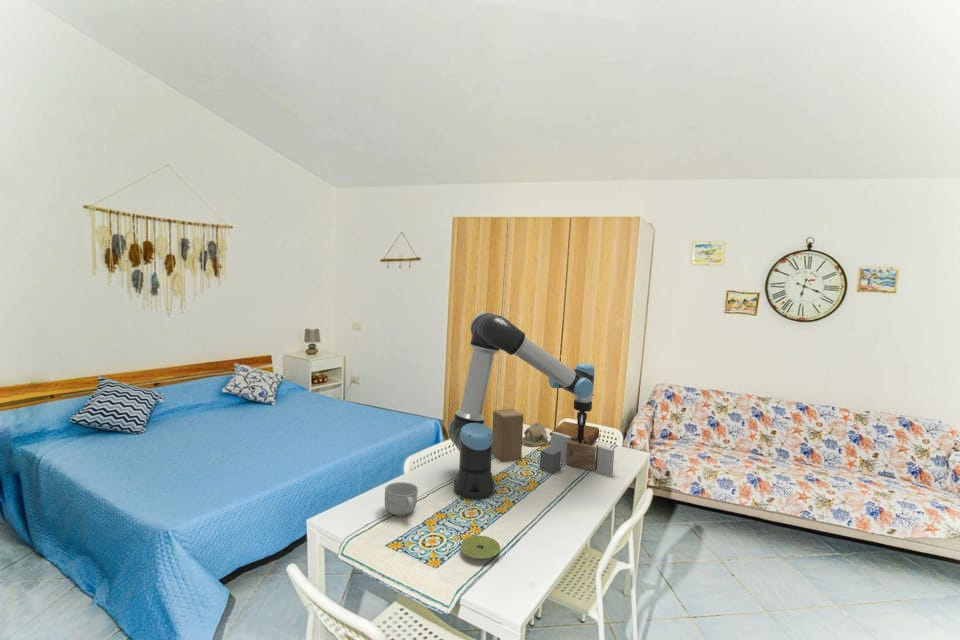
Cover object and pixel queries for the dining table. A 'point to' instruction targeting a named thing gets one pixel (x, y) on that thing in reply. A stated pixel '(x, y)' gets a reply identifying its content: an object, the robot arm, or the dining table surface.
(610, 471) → the door frame
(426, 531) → the dining table surface
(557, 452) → the block
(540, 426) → the ceramic model
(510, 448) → the wooden block
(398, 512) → the teacup
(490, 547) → the olive green disc
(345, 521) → the dining table surface
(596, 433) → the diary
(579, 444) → the door
